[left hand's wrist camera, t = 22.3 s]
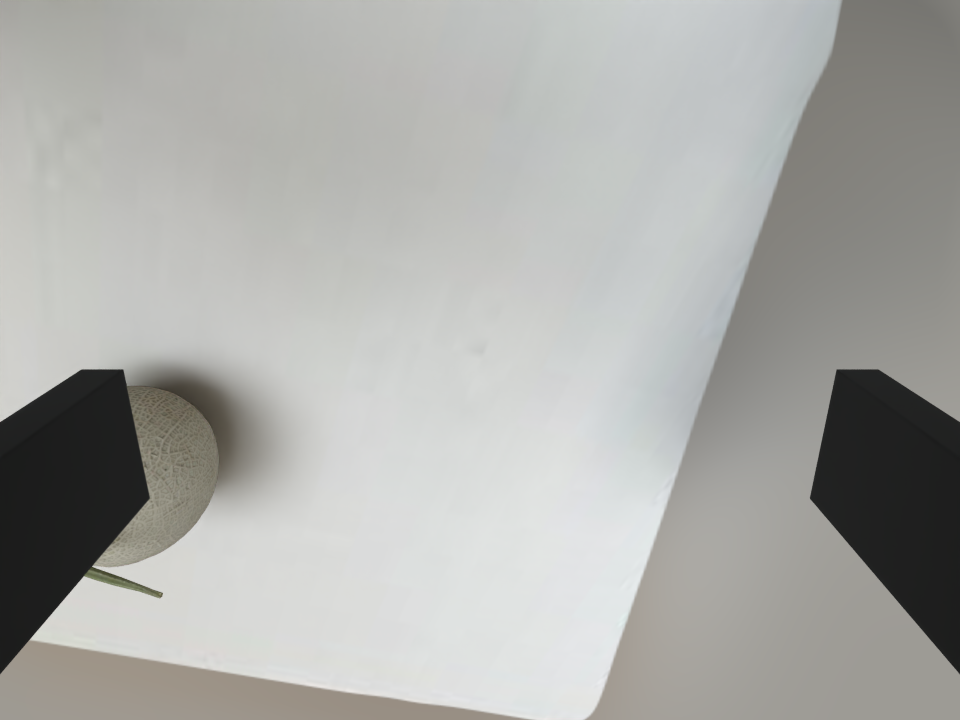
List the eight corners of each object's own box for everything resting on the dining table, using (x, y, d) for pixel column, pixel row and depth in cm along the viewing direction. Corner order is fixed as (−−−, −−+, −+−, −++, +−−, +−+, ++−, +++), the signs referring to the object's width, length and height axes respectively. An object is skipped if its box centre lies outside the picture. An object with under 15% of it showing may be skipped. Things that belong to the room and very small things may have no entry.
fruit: (52, 407, 46) (-136, 536, 32) (186, 337, 44) (49, 441, 30) (143, 519, 49) (9, 681, 35) (271, 458, 47) (184, 604, 33)
